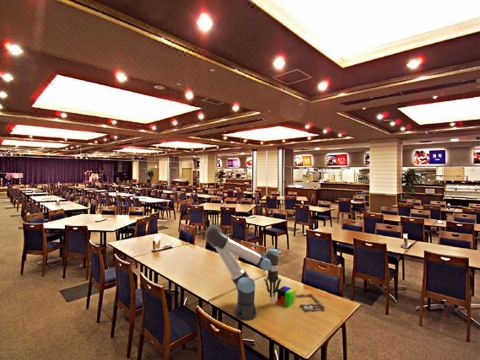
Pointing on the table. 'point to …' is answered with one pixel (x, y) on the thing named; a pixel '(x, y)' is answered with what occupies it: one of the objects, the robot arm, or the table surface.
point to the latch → (308, 307)
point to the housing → (316, 307)
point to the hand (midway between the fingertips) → (272, 301)
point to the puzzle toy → (286, 296)
